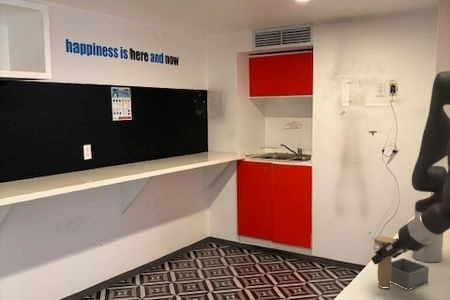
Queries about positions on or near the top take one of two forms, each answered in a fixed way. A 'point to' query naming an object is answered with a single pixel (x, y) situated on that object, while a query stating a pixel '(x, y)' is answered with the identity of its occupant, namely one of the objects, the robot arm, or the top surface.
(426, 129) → the robot arm
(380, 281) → the handle
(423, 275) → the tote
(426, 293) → the top surface
